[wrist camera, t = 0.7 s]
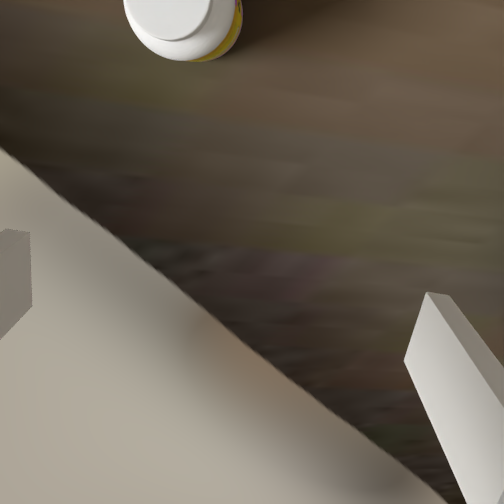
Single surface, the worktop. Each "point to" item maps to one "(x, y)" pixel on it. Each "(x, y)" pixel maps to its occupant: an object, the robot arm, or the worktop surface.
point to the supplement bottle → (186, 26)
